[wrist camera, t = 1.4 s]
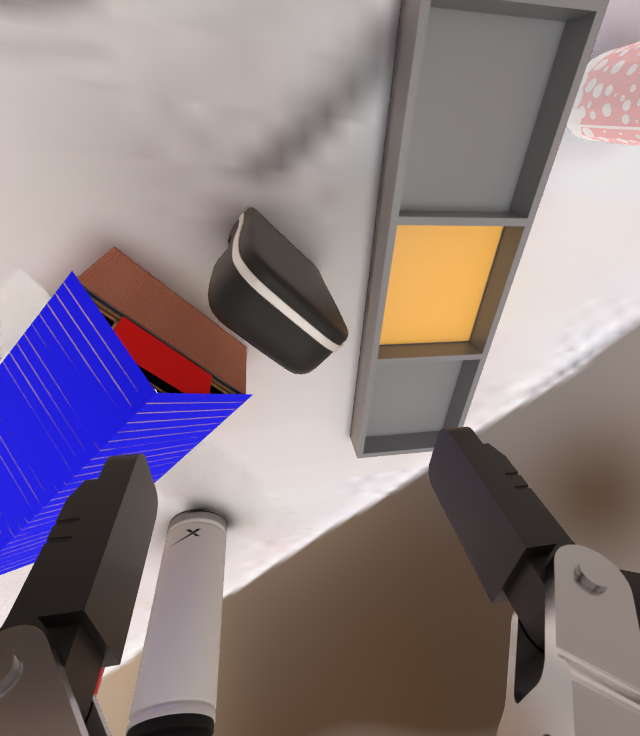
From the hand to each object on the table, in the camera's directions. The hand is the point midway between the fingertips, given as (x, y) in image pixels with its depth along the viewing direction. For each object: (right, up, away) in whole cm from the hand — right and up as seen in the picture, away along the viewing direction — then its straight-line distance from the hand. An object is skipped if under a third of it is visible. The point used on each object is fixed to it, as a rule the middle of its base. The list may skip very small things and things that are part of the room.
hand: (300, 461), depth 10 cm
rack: (+9, +9, +19) cm, 23 cm away
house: (-16, +2, +20) cm, 26 cm away
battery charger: (-3, +10, +16) cm, 19 cm away
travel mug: (-13, -15, +31) cm, 37 cm away
